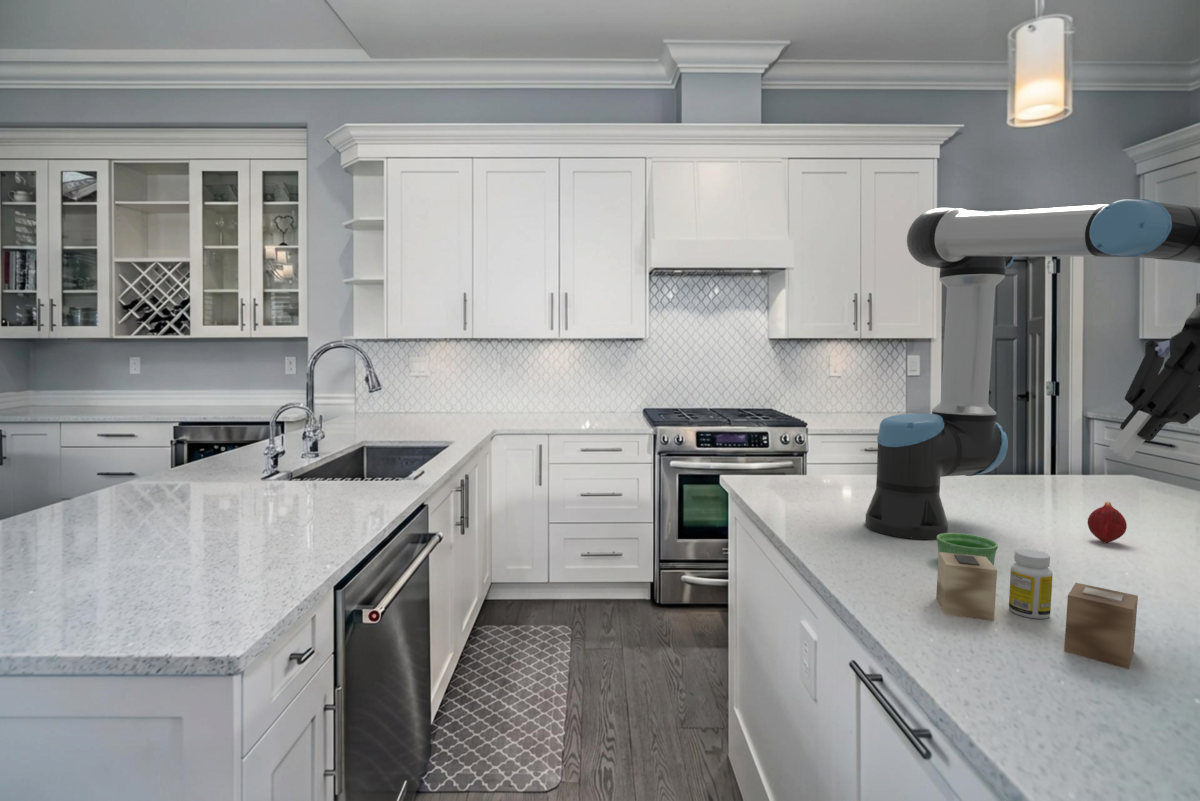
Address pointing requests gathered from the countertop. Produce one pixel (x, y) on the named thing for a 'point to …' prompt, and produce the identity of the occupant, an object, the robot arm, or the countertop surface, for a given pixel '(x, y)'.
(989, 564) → the maple block
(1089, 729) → the countertop surface
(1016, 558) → the supplement bottle
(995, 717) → the countertop surface
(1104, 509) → the onion
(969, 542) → the ramekin
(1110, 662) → the walnut block
